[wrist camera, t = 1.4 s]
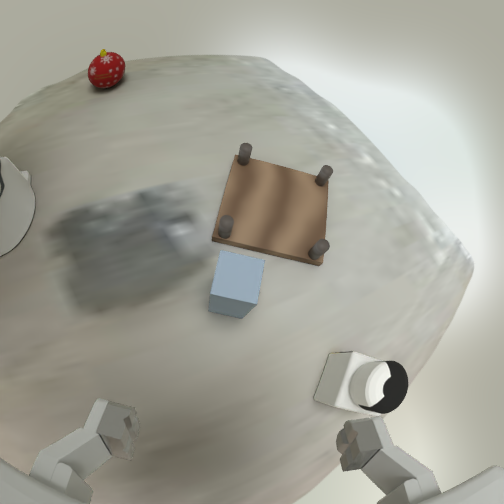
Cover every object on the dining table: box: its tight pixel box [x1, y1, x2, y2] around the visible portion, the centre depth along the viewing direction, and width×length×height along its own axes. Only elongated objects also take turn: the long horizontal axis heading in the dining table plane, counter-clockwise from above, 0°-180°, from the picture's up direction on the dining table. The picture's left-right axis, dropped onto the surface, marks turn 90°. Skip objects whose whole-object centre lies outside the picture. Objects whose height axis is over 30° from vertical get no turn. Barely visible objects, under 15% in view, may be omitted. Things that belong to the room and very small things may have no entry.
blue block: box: [209, 250, 265, 318], centre depth 32 cm, size 4×4×11 cm
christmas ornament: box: [88, 49, 125, 88], centre depth 44 cm, size 9×9×10 cm
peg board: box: [212, 143, 333, 266], centre depth 41 cm, size 16×15×5 cm
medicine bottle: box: [314, 351, 408, 417], centre depth 30 cm, size 7×7×12 cm
